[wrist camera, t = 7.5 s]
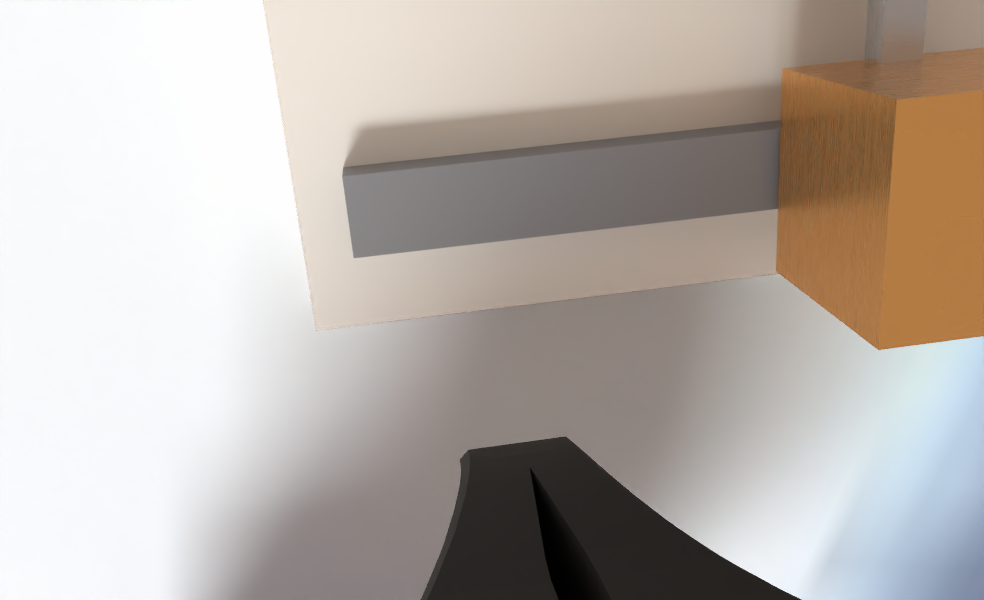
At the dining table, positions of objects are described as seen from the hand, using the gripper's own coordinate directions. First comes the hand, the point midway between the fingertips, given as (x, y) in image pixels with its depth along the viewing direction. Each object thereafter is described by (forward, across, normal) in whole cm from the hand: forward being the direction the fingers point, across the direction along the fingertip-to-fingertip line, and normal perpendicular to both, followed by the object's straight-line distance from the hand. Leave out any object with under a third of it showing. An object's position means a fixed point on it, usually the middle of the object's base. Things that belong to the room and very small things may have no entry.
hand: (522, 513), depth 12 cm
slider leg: (+8, -8, -3) cm, 12 cm away
